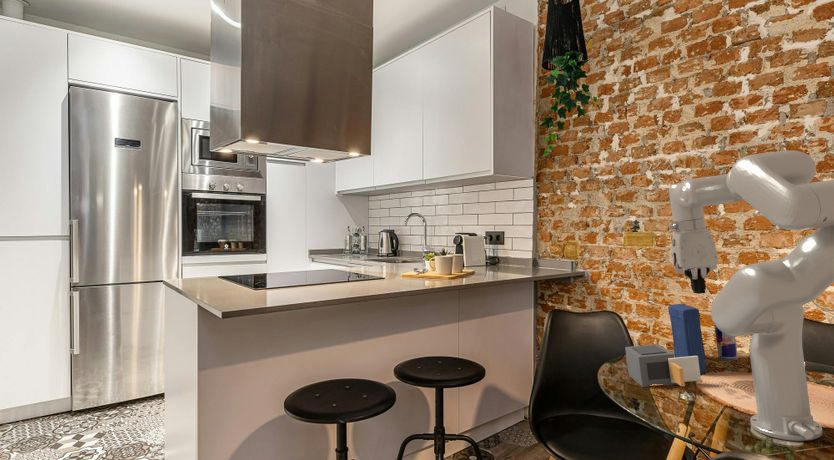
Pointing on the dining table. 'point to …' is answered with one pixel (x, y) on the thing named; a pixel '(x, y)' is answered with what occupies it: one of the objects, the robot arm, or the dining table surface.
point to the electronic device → (687, 333)
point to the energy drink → (726, 346)
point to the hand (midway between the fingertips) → (699, 292)
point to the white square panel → (684, 369)
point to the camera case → (649, 364)
